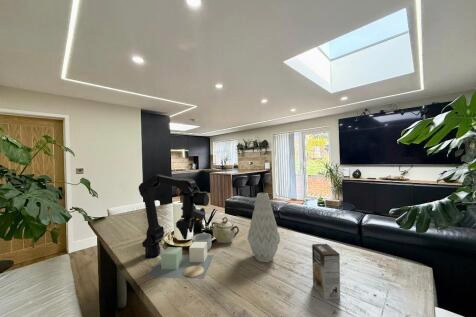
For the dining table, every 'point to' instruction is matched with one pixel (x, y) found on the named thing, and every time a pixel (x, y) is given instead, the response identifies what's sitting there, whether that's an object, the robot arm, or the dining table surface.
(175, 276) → the slate board
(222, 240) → the sugar bowl
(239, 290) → the dining table surface
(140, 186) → the robot arm
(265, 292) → the dining table surface
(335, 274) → the coffee box
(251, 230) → the vase
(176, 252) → the frosted jade cube
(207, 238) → the teacup
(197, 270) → the tan flat disc
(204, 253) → the ivory cube
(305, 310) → the dining table surface
